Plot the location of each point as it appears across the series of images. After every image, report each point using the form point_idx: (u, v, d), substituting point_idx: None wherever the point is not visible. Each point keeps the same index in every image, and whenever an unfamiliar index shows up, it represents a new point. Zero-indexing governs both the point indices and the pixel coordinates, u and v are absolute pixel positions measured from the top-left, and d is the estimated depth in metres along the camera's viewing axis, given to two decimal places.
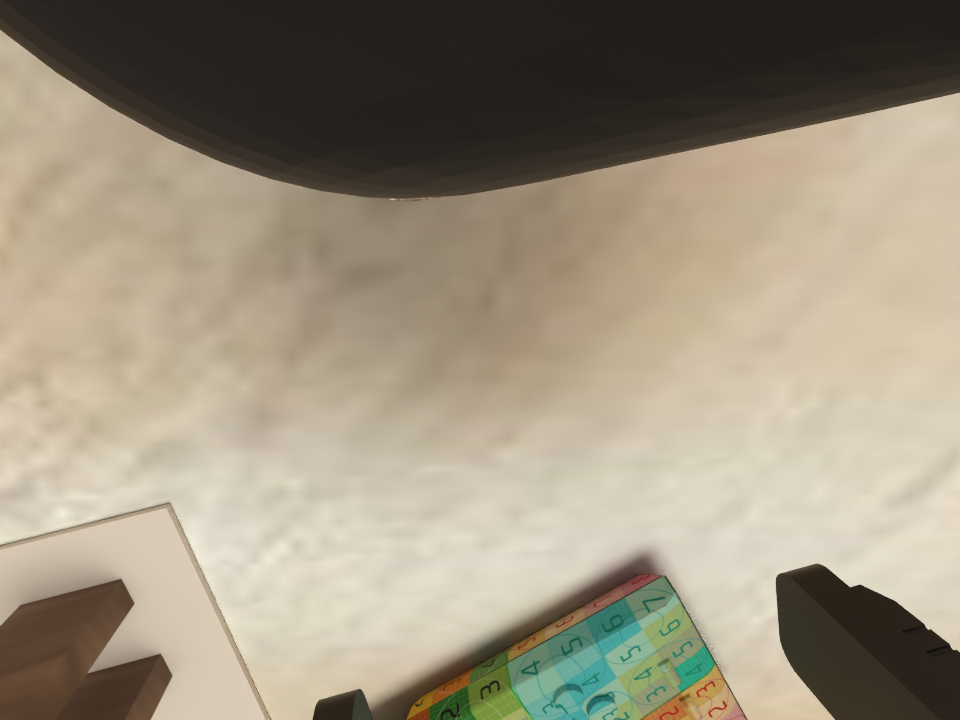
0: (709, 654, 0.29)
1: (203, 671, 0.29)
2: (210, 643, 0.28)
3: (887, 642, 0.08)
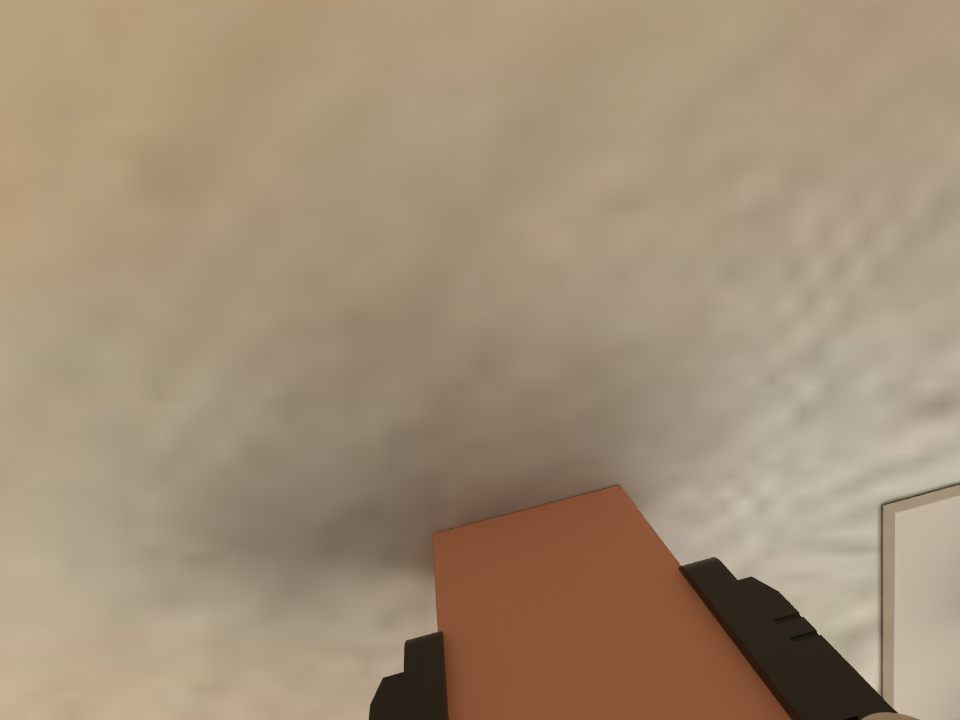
0: None
1: None
2: None
3: (756, 628, 0.08)
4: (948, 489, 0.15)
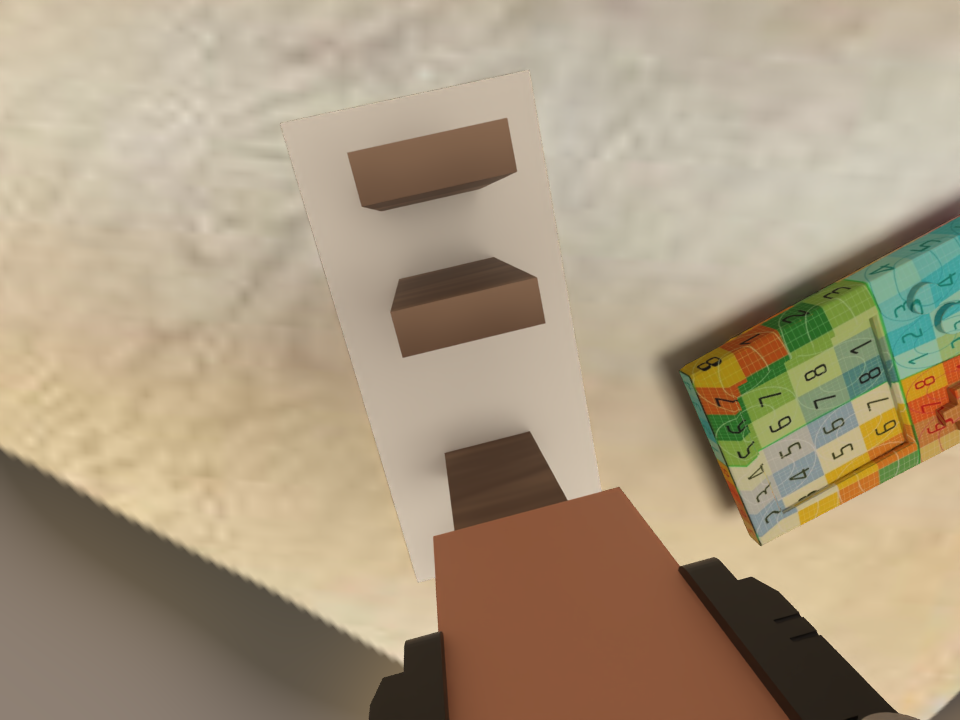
0: None
1: None
2: (542, 249, 0.27)
3: (756, 628, 0.08)
4: None
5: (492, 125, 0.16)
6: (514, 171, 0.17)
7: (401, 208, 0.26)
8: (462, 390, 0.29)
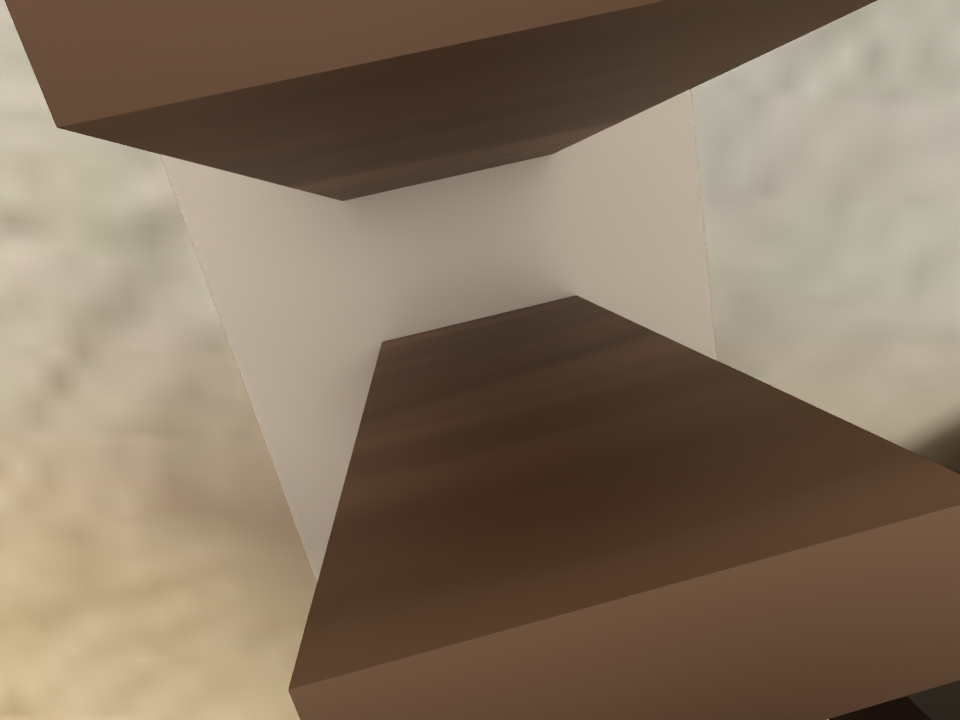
0: None
1: None
2: (673, 279, 0.13)
3: None
4: None
5: None
6: None
7: (386, 194, 0.12)
8: None
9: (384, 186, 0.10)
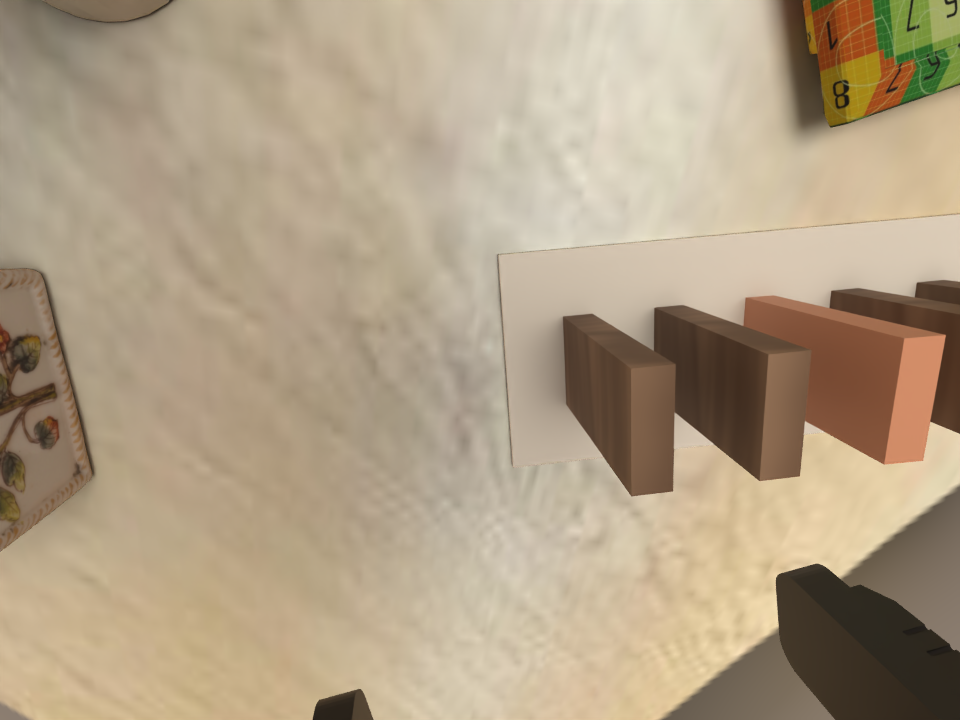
0: None
1: (688, 275, 0.28)
2: (658, 259, 0.28)
3: (887, 642, 0.08)
4: (510, 434, 0.30)
5: (634, 381, 0.18)
6: (674, 366, 0.18)
7: None
8: None
9: None
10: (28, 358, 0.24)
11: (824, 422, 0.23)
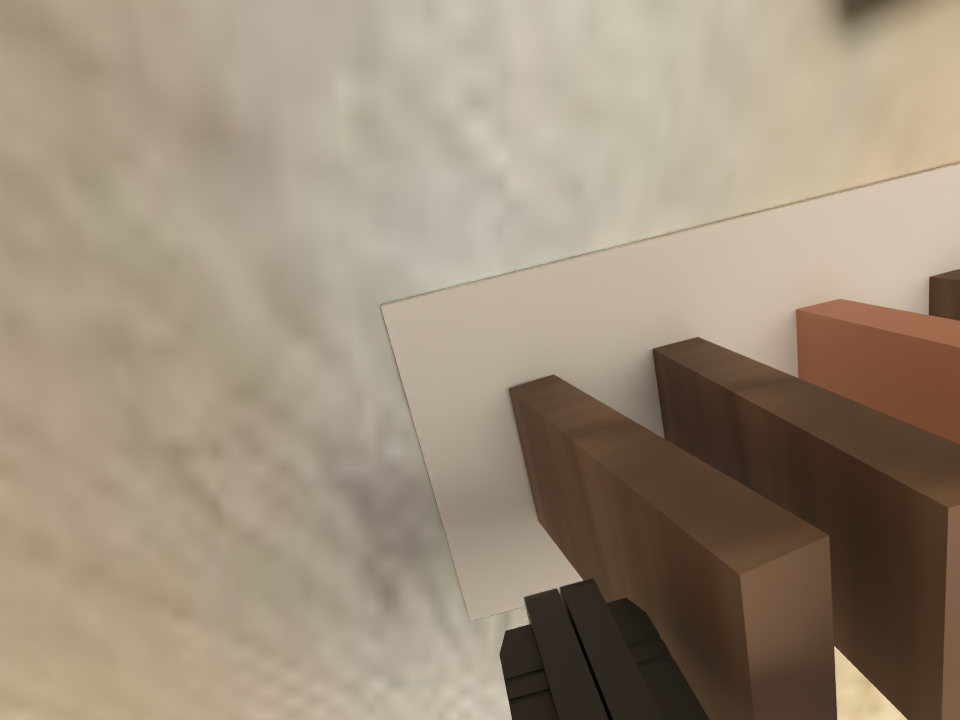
0: None
1: (700, 289, 0.17)
2: (647, 271, 0.17)
3: (609, 651, 0.09)
4: None
5: (748, 601, 0.08)
6: (827, 540, 0.08)
7: None
8: None
9: None
10: None
11: None
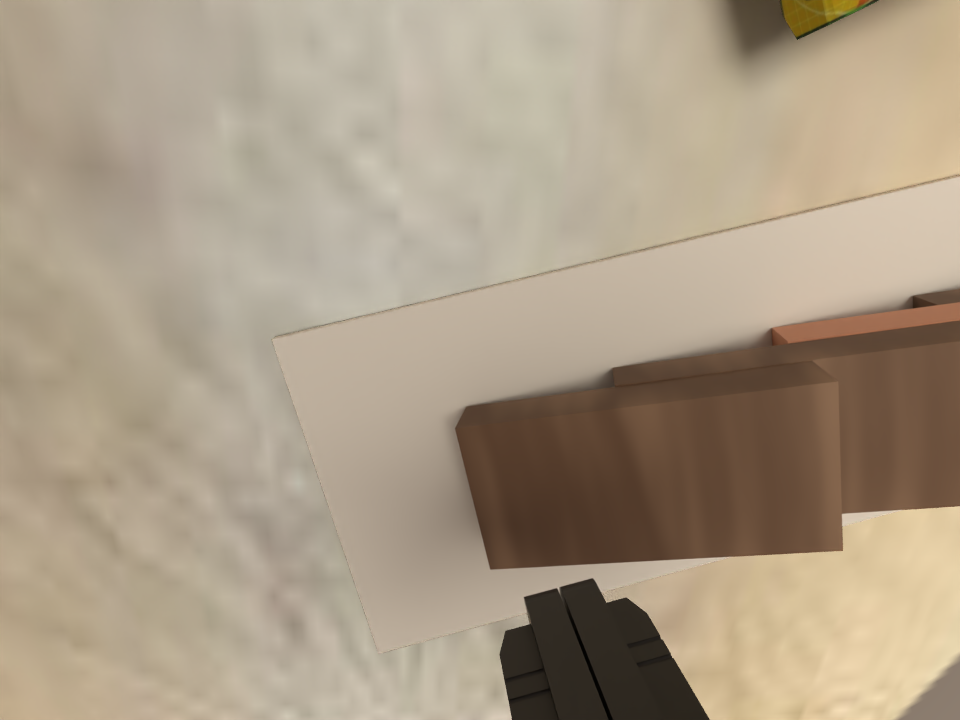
0: None
1: (603, 323, 0.17)
2: (547, 304, 0.16)
3: (609, 651, 0.09)
4: None
5: (837, 398, 0.13)
6: None
7: None
8: None
9: None
10: None
11: None
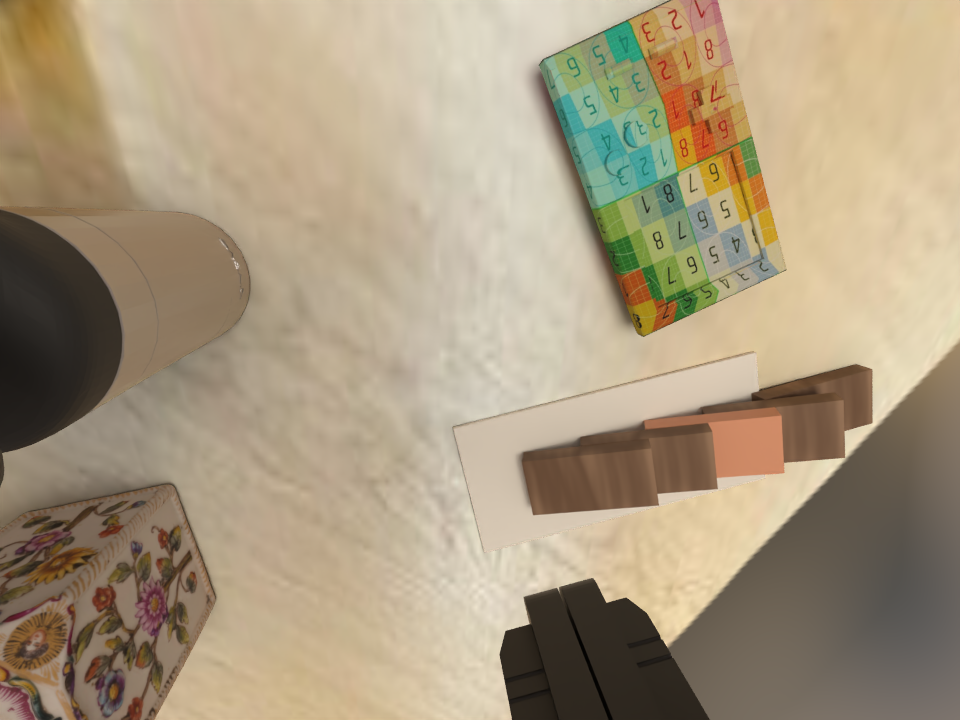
0: (615, 26, 0.33)
1: (576, 420, 0.43)
2: (555, 414, 0.43)
3: (609, 651, 0.09)
4: (479, 532, 0.45)
5: (651, 453, 0.40)
6: (648, 440, 0.41)
7: (528, 494, 0.45)
8: None
9: None
10: (177, 542, 0.40)
11: (738, 471, 0.42)
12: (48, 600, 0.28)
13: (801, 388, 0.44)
